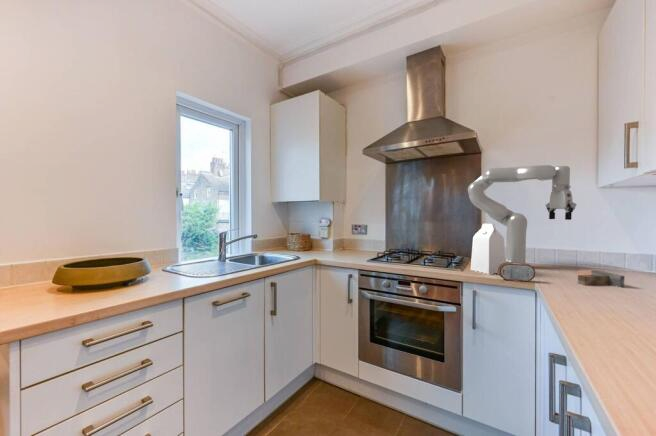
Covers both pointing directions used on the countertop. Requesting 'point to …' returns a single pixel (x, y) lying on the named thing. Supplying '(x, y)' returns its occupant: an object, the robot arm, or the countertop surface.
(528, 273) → the tin
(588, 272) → the tile
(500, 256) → the milk
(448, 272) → the countertop surface
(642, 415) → the countertop surface
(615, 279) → the brown angular block
